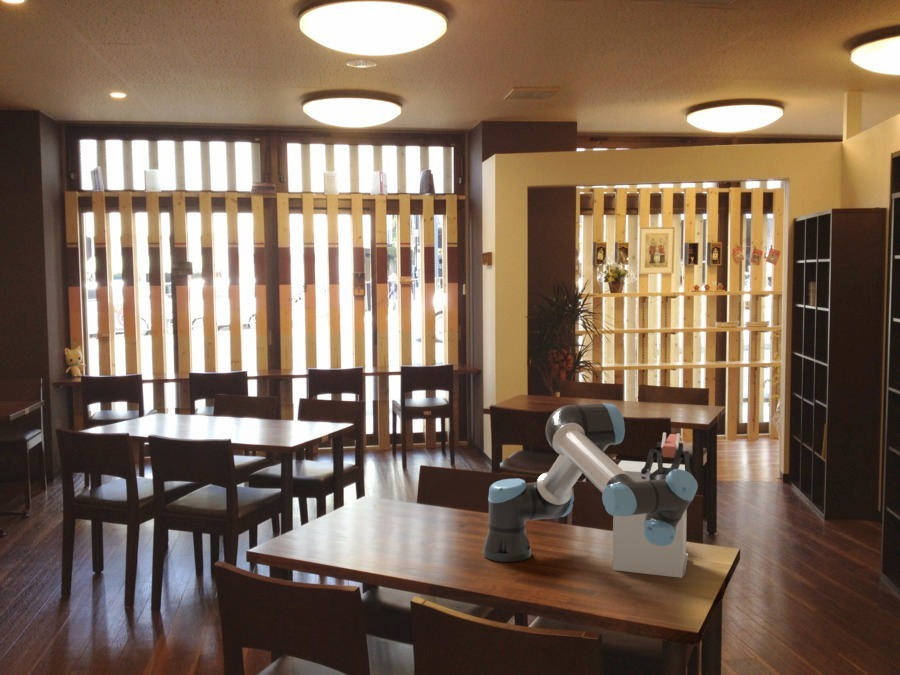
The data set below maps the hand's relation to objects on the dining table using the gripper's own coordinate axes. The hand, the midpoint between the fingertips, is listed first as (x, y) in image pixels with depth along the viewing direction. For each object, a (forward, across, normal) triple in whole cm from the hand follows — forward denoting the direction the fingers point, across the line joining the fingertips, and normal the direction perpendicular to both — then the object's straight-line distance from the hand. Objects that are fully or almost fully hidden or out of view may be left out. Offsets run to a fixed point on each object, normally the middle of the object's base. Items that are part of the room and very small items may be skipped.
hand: (671, 436), depth 224 cm
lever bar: (0, 0, -5) cm, 5 cm away
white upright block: (-7, -7, -44) cm, 46 cm away
